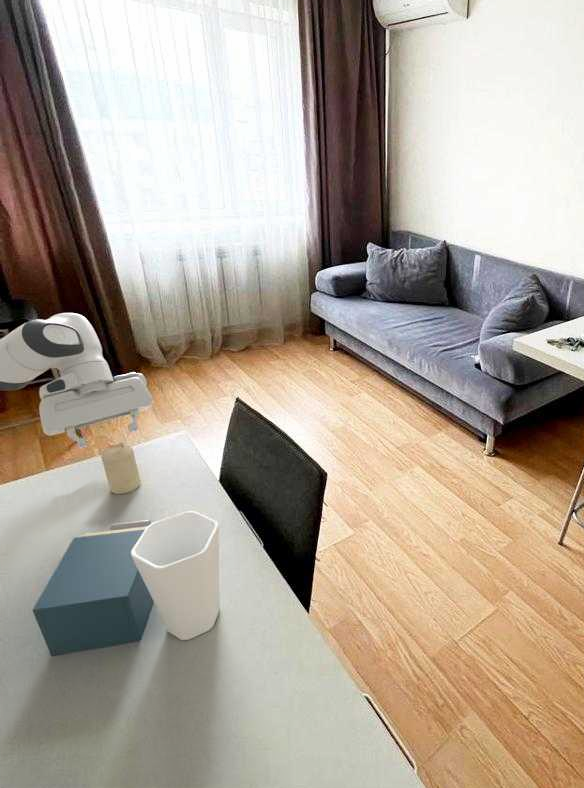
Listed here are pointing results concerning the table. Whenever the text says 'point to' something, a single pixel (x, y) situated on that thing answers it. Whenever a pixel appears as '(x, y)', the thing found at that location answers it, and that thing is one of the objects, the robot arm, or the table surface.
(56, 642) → the blue-grey box
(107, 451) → the candle
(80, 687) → the table surface
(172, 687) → the table surface
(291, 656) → the table surface
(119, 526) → the tray
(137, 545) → the cup
